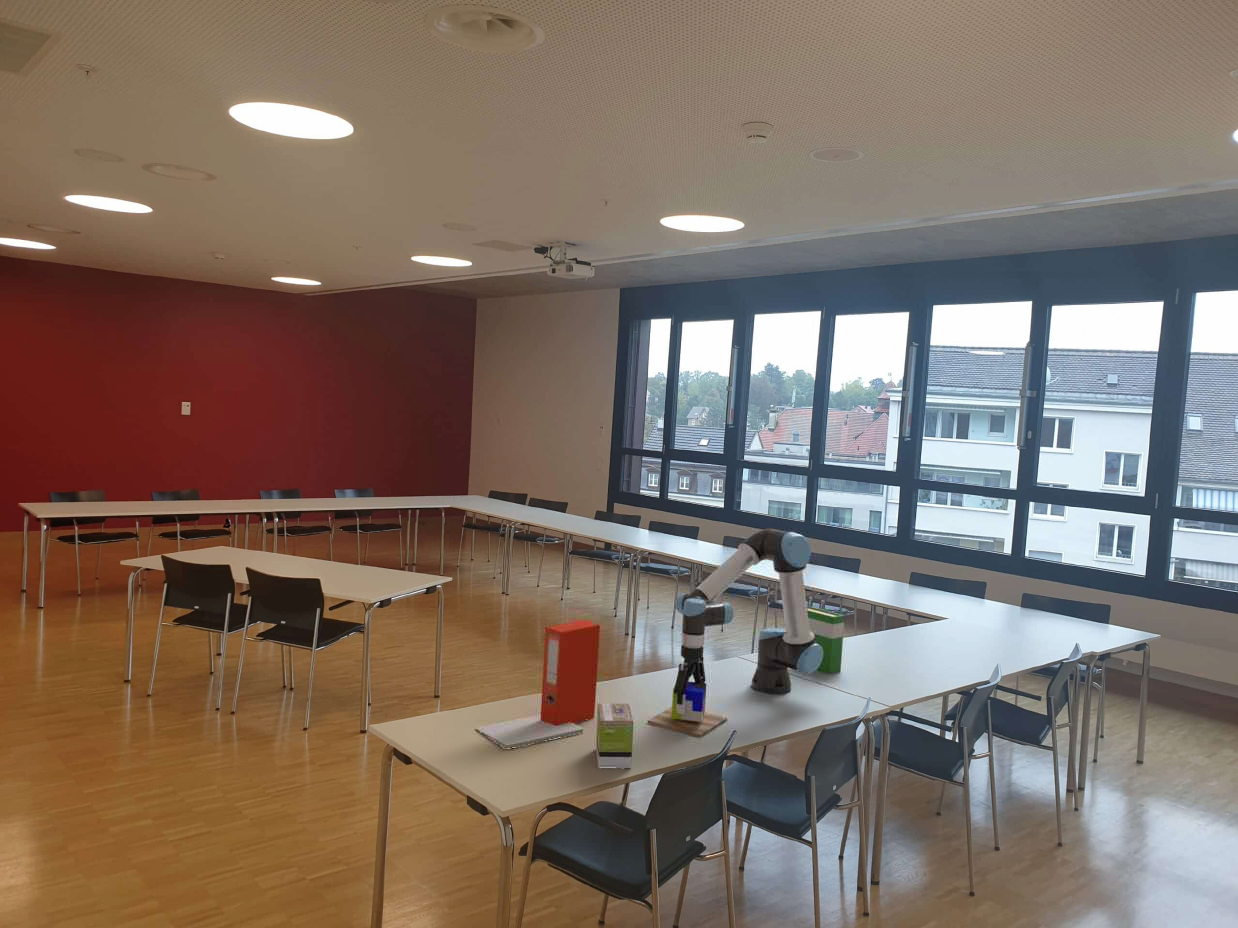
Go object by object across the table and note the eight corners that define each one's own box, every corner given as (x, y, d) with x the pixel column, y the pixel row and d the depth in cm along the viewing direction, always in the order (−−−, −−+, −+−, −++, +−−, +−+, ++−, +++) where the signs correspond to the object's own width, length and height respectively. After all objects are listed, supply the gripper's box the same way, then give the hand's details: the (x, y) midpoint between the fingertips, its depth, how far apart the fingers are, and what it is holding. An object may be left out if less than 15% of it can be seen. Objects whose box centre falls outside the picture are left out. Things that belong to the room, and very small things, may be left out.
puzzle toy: (701, 721, 292) (703, 692, 291) (671, 718, 294) (673, 688, 293) (704, 711, 301) (706, 683, 301) (675, 708, 303) (677, 680, 303)
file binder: (594, 718, 296) (599, 624, 294) (556, 729, 284) (561, 632, 282) (578, 711, 302) (583, 619, 300) (540, 722, 290) (545, 626, 288)
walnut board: (675, 707, 311) (675, 704, 311) (727, 720, 301) (727, 717, 301) (647, 722, 294) (647, 720, 294) (701, 737, 284) (701, 734, 284)
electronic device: (506, 751, 265) (506, 745, 265) (474, 730, 280) (475, 724, 280) (583, 734, 282) (584, 728, 282) (550, 715, 298) (550, 709, 298)
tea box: (594, 748, 270) (597, 701, 269) (627, 749, 270) (629, 702, 270) (597, 769, 255) (600, 719, 254) (632, 769, 255) (634, 719, 255)
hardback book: (795, 663, 376) (799, 608, 374) (806, 661, 381) (810, 606, 379) (829, 674, 363) (833, 617, 361) (840, 671, 367) (844, 615, 366)
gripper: (698, 636, 308) (694, 696, 309) (665, 650, 288) (661, 715, 289) (717, 640, 304) (714, 701, 306) (685, 654, 284) (682, 720, 285)
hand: (688, 708), depth 297 cm, fingers closed on puzzle toy, 12 cm apart
